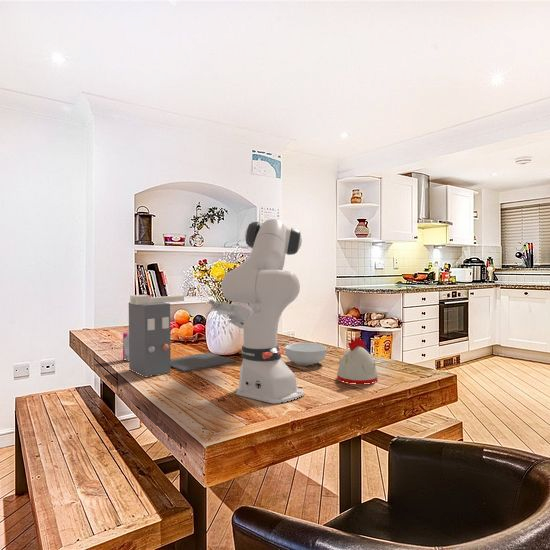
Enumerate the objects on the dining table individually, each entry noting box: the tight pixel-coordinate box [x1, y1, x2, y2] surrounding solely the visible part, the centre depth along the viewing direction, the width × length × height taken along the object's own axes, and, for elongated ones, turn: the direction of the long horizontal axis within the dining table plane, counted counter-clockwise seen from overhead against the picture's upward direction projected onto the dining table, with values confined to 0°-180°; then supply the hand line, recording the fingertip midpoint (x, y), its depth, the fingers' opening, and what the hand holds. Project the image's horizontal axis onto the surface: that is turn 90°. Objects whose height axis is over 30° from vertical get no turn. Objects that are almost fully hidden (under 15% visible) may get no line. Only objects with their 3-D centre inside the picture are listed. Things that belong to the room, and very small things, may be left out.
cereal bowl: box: [284, 342, 328, 367], centre depth 171 cm, size 17×17×7 cm
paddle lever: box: [129, 294, 185, 305], centre depth 160 cm, size 6×20×3 cm, turn 132°
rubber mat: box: [171, 352, 236, 373], centre depth 172 cm, size 20×24×1 cm
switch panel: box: [128, 302, 172, 377], centre depth 158 cm, size 15×10×26 cm
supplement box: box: [122, 332, 129, 360], centre depth 177 cm, size 6×6×12 cm
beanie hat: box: [336, 336, 378, 384], centre depth 148 cm, size 14×14×15 cm
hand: (215, 302), depth 176 cm, fingers open, 8 cm apart
